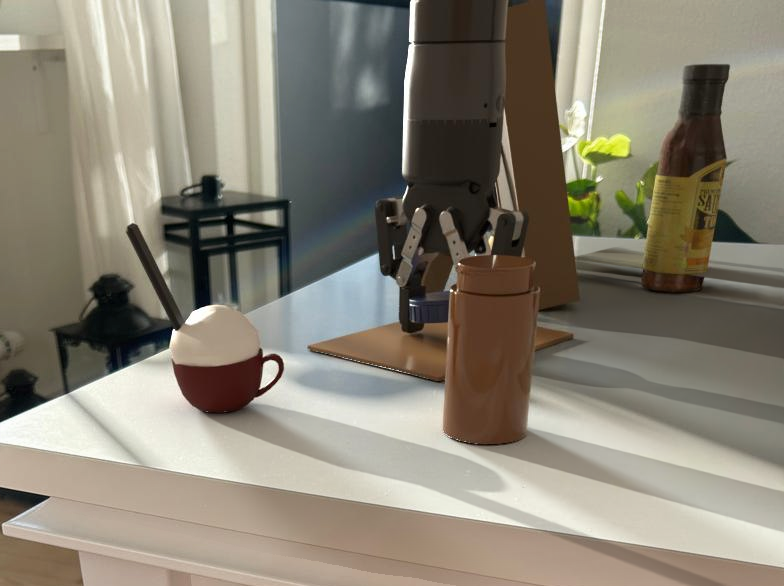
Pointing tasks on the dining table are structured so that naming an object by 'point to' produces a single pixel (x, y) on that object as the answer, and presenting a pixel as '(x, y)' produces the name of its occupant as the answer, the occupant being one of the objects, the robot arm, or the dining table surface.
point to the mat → (410, 347)
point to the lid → (429, 307)
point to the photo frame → (531, 161)
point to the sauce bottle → (688, 185)
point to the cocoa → (210, 347)
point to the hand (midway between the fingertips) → (442, 336)
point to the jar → (490, 349)
